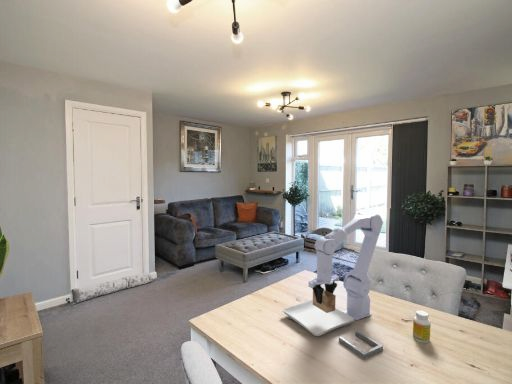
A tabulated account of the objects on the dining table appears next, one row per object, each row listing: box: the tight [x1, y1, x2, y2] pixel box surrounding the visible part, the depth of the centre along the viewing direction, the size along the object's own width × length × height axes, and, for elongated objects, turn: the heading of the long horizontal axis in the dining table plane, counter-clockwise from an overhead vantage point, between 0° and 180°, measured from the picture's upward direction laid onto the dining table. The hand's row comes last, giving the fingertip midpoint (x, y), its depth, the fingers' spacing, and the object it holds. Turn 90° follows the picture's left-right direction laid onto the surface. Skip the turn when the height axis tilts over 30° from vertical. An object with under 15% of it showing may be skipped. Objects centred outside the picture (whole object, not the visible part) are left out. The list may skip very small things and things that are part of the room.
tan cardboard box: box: [312, 289, 336, 313], centre depth 110 cm, size 4×8×6 cm, turn 30°
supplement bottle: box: [412, 309, 432, 343], centre depth 101 cm, size 5×5×10 cm
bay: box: [338, 329, 384, 360], centre depth 97 cm, size 10×11×2 cm
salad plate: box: [282, 299, 355, 337], centre depth 113 cm, size 21×21×3 cm
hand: (323, 301), depth 110 cm, fingers closed on tan cardboard box, 4 cm apart
